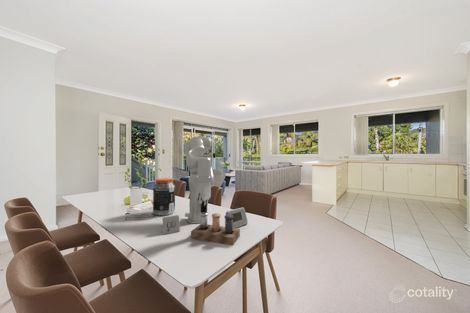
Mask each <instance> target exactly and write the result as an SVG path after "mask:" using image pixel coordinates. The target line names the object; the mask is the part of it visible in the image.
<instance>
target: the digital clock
mask: <svg viewBox="0 0 470 313" xmlns="http://www.w3.org/2000/svg"><path fill="white" fill-rule="evenodd" d="M225 215H233V228H237V229H239V228H240V227H243V225H244V226H245V225H247V224H249V223H248V217H247V213H246V209H245V208H244V207H238V208H234V209H230V210H227V211H226V212H225Z"/></svg>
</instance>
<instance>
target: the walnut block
mask: <svg viewBox="0 0 470 313" xmlns="http://www.w3.org/2000/svg"><path fill="white" fill-rule="evenodd" d="M240 234H241V229H240V228H233V230H232V234H226V233H225V226H223V225H220V231H219V232H212V224H208V223H207V230H200V224H199V225H197V226H196V227H195V228H193V229H192V230H191V231H190V239H191V240H198V241H203V242H204V241H205V242H209V243H216V244H221V245H222V244H223V245H226V246H227V245H228V246H232V247H233V246H234V245H235V244H236V242H237V241H238V239H239V238H240V236H241V235H240Z"/></svg>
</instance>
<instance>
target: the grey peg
mask: <svg viewBox="0 0 470 313" xmlns="http://www.w3.org/2000/svg"><path fill="white" fill-rule="evenodd" d="M208 216H209V212H208V211H207V212H206V213H202V212H201V213H200V223H199V225H200V230H207V224H208Z"/></svg>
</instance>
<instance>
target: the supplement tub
mask: <svg viewBox="0 0 470 313" xmlns="http://www.w3.org/2000/svg"><path fill="white" fill-rule="evenodd" d="M152 191H153V192H152V197H153V198H152V213H153V212H154V213H153V214H154V215H155V216H169V215H172V214H174V213H175V212H176V185H175V183H174V179H173V178H167V177H166V178H163V177H162V178H156V179H155V184H154V185H153V189H152Z"/></svg>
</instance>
